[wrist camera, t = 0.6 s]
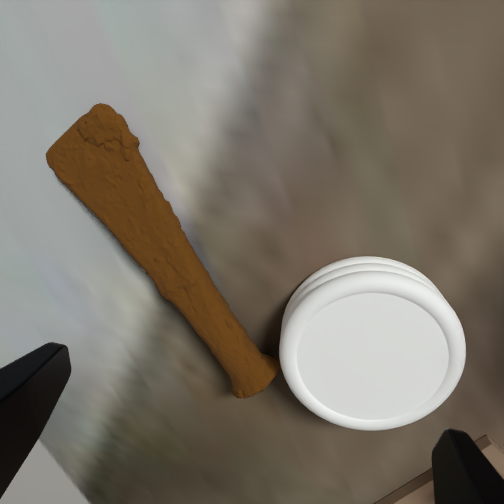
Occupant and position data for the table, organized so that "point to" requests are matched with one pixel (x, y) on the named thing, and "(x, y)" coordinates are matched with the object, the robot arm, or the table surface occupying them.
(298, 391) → the coaster
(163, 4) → the table surface
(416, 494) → the tan two-rail tray
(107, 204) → the primitive tool
